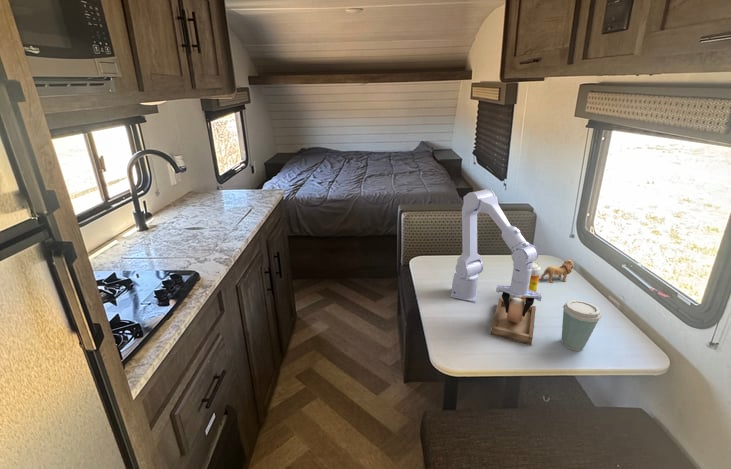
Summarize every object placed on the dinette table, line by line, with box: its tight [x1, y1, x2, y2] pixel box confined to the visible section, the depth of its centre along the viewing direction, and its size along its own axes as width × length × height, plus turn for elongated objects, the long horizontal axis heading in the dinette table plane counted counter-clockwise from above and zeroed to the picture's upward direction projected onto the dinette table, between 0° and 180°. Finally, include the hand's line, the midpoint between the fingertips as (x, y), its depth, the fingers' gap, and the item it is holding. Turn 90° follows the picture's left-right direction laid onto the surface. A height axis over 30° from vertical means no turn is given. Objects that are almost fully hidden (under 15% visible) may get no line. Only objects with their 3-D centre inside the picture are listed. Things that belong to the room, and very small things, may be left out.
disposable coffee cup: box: [561, 299, 602, 352], centre depth 120 cm, size 11×11×15 cm
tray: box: [490, 298, 537, 346], centre depth 133 cm, size 13×20×3 cm, turn 155°
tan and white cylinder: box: [507, 296, 526, 322], centre depth 131 cm, size 5×5×7 cm
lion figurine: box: [540, 259, 575, 284], centre depth 161 cm, size 15×5×9 cm, turn 105°
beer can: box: [520, 261, 541, 302], centre depth 146 cm, size 6×6×15 cm
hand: (515, 313), depth 132 cm, fingers closed on tan and white cylinder, 5 cm apart
